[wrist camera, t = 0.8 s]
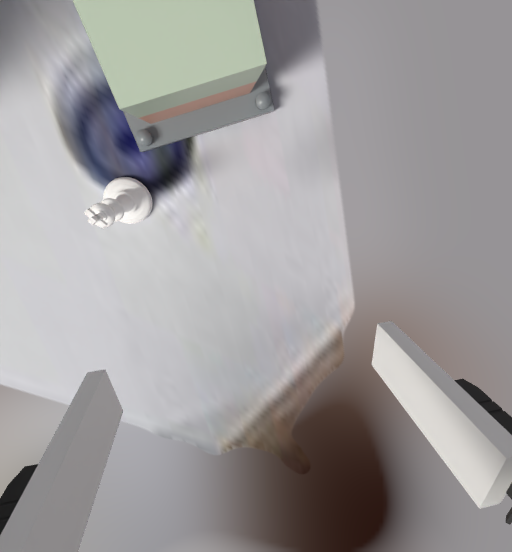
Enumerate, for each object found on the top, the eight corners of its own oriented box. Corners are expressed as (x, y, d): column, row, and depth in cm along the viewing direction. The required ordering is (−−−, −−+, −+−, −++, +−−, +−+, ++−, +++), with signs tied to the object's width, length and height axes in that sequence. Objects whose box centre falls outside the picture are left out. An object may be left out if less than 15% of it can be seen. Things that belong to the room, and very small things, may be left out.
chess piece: (125, 166, 29) (83, 172, 20) (162, 202, 30) (139, 222, 21) (94, 198, 29) (41, 218, 20) (132, 231, 31) (98, 263, 22)
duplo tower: (143, 152, 28) (105, 151, 18) (66, -30, 22) (-50, -173, 12) (272, 111, 28) (302, 89, 19) (230, -80, 22) (242, -261, 13)
